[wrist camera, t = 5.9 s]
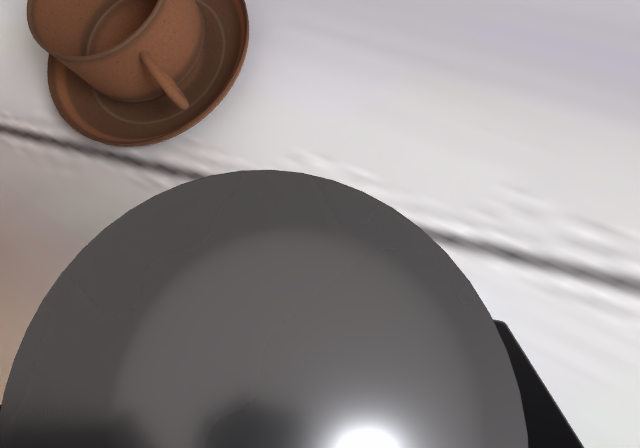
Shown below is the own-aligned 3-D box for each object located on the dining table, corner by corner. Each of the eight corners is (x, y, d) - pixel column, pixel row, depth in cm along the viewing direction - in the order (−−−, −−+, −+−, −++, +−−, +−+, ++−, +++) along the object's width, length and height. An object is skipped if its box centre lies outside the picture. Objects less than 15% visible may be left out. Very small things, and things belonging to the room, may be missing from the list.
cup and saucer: (300, 22, 28) (266, -67, 22) (173, 197, 27) (101, 152, 21) (151, -52, 32) (88, -144, 26) (34, 99, 31) (-60, 38, 25)
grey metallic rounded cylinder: (352, 468, 15) (57, 876, 3) (301, 342, 16) (-44, 295, 4) (476, 414, 15) (667, 642, 3) (414, 290, 16) (367, 88, 4)
